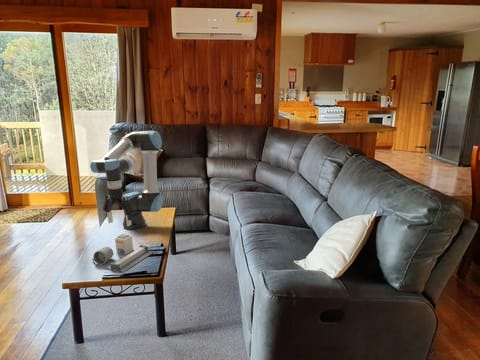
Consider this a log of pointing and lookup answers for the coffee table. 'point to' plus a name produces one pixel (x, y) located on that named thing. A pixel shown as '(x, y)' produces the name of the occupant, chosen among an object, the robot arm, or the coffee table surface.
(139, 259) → the rail base
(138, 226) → the robot arm
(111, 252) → the ceramic mug
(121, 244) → the module
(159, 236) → the coffee table surface
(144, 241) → the coffee table surface
